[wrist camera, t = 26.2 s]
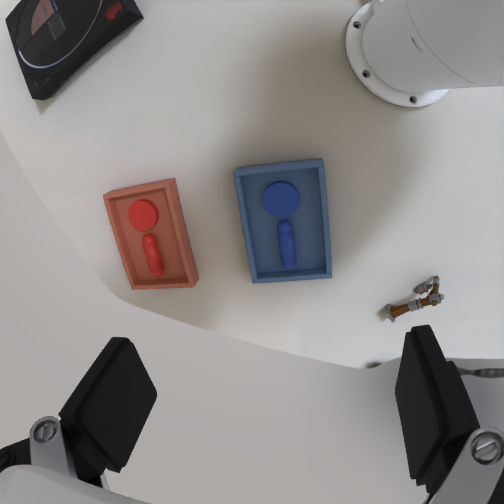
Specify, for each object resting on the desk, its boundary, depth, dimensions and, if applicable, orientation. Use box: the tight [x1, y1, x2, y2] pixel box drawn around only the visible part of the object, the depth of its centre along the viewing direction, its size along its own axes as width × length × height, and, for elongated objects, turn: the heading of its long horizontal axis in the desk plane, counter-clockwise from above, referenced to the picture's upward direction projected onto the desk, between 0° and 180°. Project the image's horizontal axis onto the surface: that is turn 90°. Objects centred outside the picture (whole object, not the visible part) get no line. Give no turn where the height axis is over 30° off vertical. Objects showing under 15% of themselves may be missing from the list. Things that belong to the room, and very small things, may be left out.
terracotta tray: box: [103, 178, 199, 290], centre depth 38 cm, size 13×9×2 cm
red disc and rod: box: [128, 199, 164, 277], centre depth 37 cm, size 10×4×2 cm, turn 9°
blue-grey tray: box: [233, 158, 332, 284], centre depth 34 cm, size 13×9×2 cm
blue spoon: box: [263, 181, 299, 270], centre depth 34 cm, size 10×4×2 cm, turn 9°
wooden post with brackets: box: [386, 276, 444, 323], centre depth 35 cm, size 2×8×4 cm, turn 135°
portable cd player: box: [5, 0, 144, 100], centre depth 25 cm, size 16×17×4 cm
